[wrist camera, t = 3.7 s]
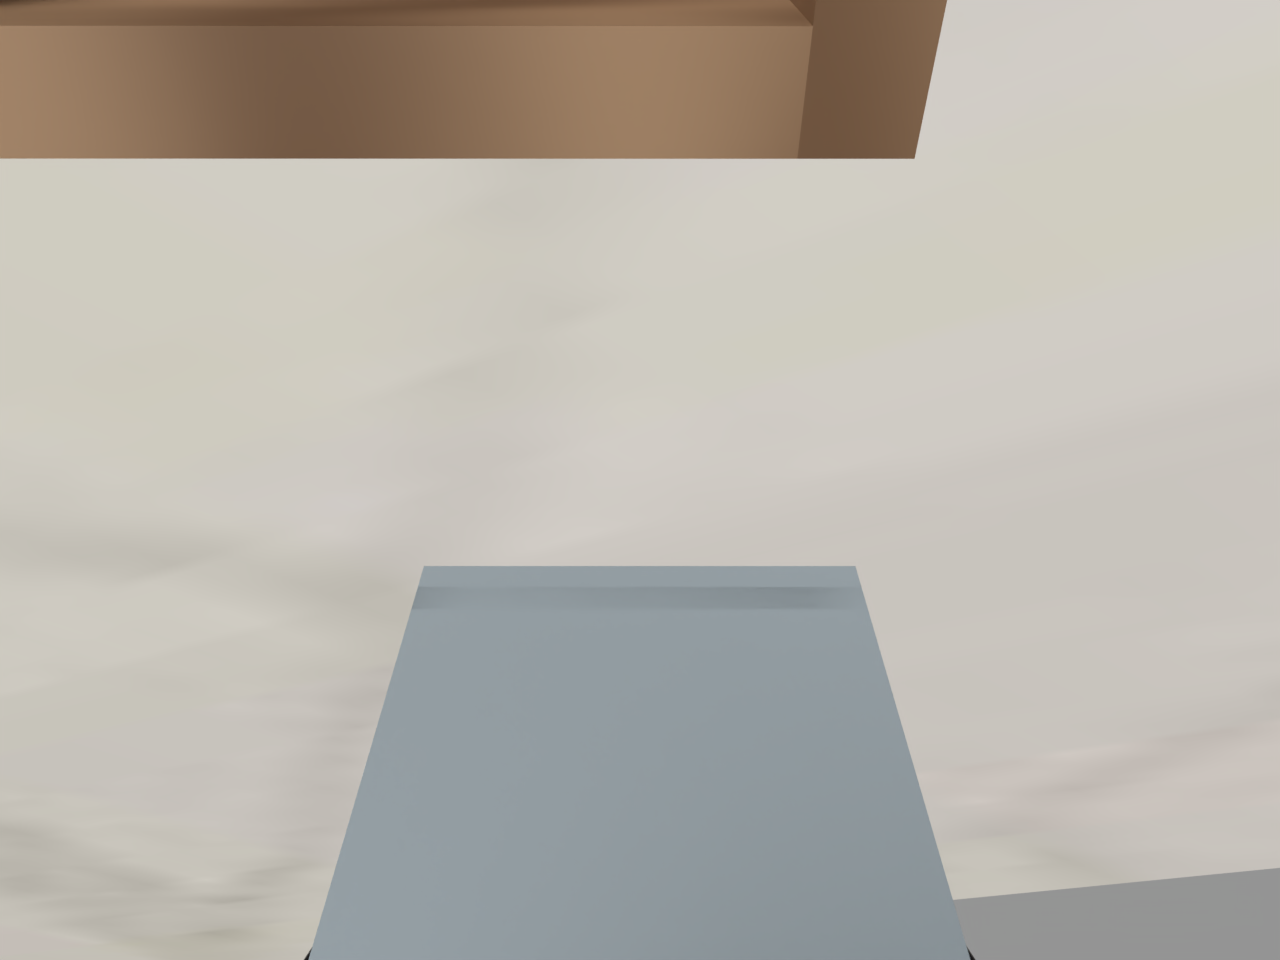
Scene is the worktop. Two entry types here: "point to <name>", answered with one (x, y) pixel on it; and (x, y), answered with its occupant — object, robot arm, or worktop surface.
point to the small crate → (639, 776)
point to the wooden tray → (465, 79)
